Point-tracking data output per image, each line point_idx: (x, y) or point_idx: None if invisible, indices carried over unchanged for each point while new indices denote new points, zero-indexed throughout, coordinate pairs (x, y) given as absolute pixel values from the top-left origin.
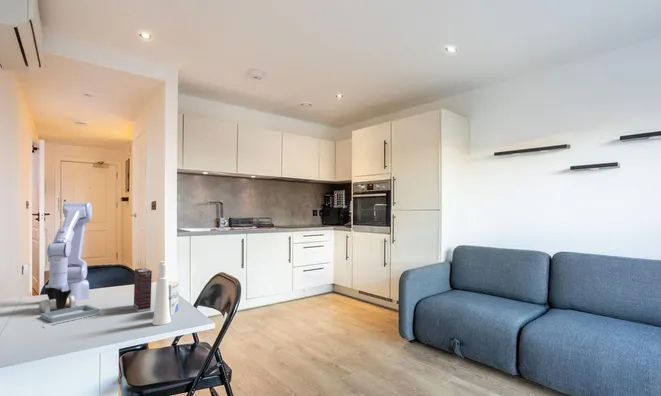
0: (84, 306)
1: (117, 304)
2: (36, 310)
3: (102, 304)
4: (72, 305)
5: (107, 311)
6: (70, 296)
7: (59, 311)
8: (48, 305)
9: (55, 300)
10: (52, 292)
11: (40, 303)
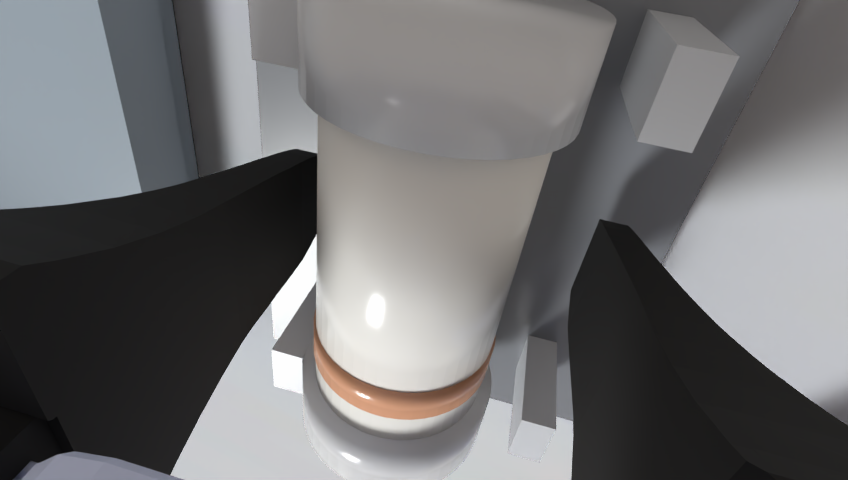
0: None
1: (225, 476)
2: (776, 10)
3: (326, 466)
4: (300, 317)
5: None
6: (334, 445)
7: (88, 62)
8: (292, 51)
9: (337, 242)
10: (14, 273)
11: (590, 25)
